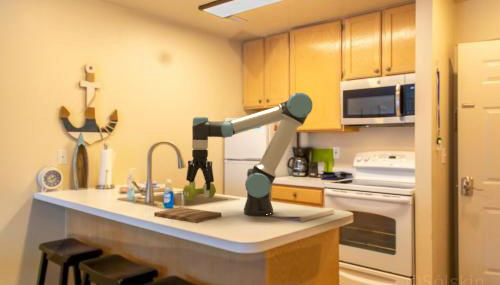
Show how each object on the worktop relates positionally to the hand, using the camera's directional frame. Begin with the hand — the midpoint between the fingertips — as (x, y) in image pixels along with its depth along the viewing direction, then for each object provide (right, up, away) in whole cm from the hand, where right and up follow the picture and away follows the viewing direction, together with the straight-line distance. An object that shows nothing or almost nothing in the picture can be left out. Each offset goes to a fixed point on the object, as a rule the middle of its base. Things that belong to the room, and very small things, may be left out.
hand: (199, 196), depth 178 cm
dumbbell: (0, -2, 0) cm, 2 cm away
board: (-6, -11, +4) cm, 13 cm away
